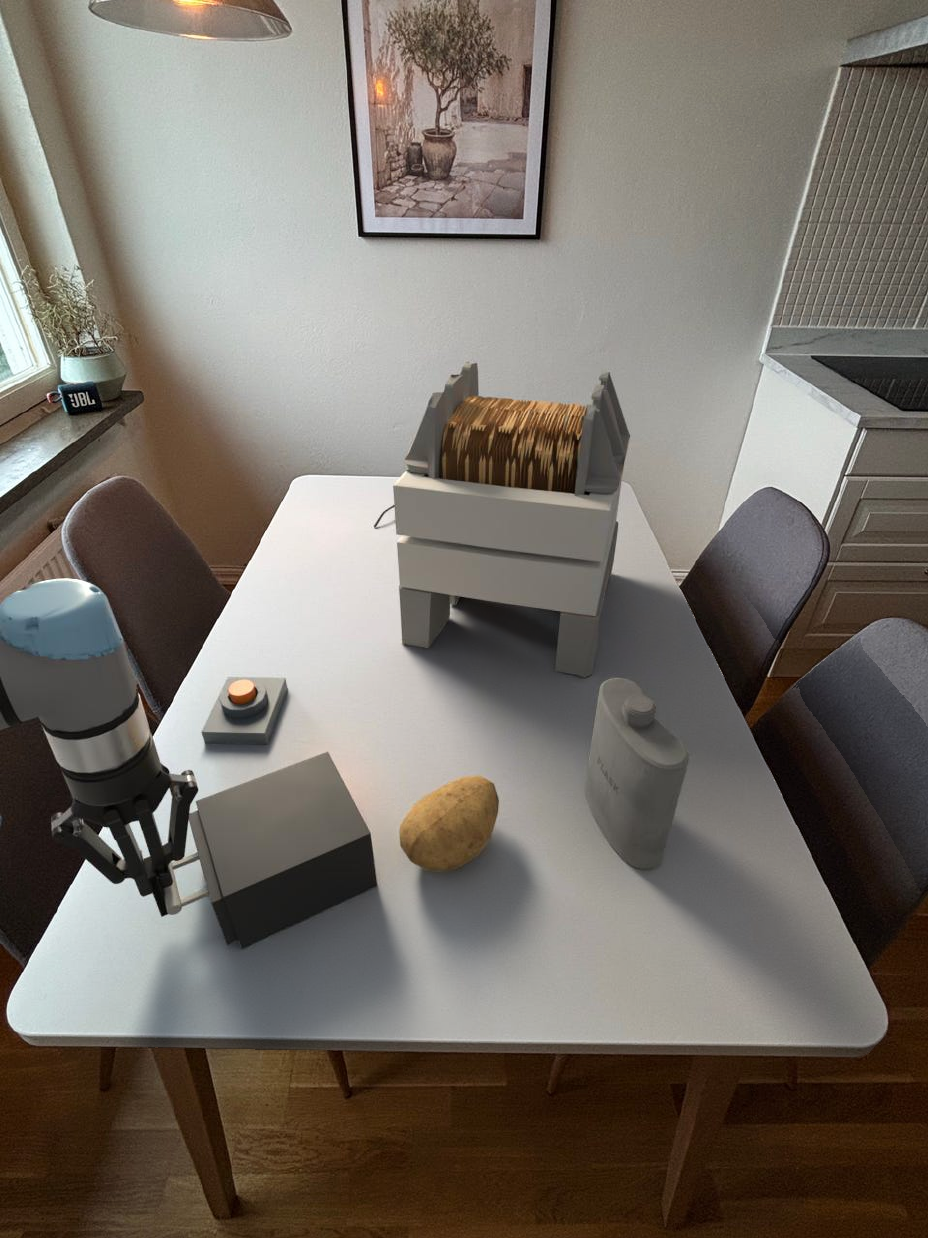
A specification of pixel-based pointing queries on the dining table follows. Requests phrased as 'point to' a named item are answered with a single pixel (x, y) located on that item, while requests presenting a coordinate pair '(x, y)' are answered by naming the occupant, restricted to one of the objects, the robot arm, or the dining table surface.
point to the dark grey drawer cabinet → (287, 847)
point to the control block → (246, 713)
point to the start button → (242, 691)
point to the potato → (450, 824)
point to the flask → (633, 773)
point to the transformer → (511, 510)
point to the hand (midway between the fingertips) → (163, 904)
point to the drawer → (212, 883)
